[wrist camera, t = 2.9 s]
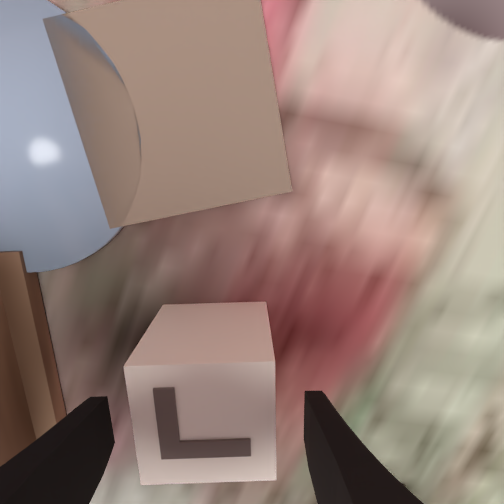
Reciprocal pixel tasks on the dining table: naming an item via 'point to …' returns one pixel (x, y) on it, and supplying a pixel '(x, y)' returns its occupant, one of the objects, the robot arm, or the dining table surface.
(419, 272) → the dining table surface
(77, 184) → the light blue plate
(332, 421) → the robot arm
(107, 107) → the cork mat
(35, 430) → the brown upright panel
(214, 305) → the letter cube
